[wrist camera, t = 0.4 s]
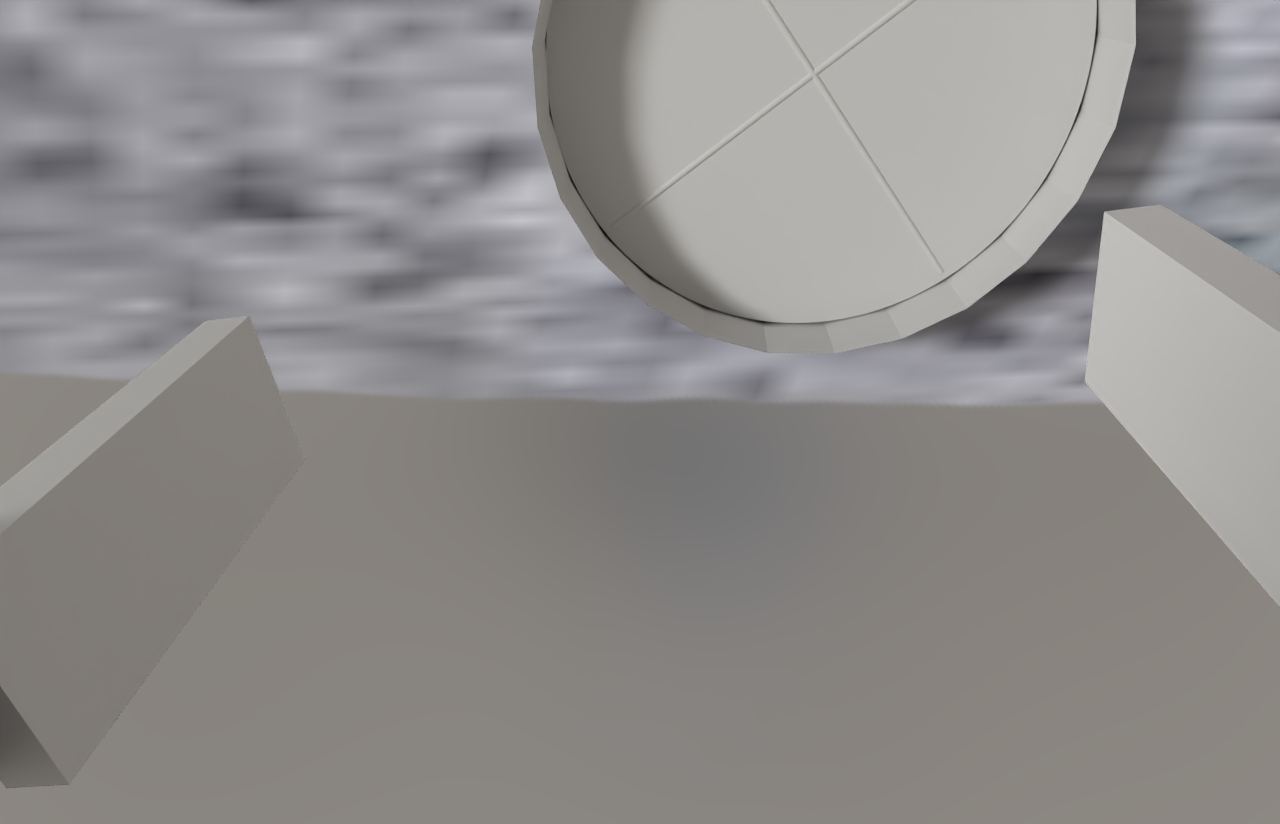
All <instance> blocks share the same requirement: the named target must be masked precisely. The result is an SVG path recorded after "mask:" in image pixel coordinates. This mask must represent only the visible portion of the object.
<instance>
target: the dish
mask: <svg viewBox="0 0 1280 824" xmlns="http://www.w3.org/2000/svg"><path fill="white" fill-rule="evenodd" d="M1135 47H1136V0H541V2H540V8H539V13H538V19H537V24H536V29H535V35H534V40H533V46H532V52H533V66H534V81H535V96H536V111H537V126H538V130H539V133H540V136H541V139H542V142H543V146H544V149H545V152H546V155H547V158H548V161H549V164H550V167H551V170H552V174H553V177H554V180H555V183H556V186H557V189H558V192H559V195H560V198H561V200H562V202H563V203H564V205H565V207H566V208H567V210H568V211H569V213H570V215H571V216H572V218H573V219H574V221H575V223H576V224H577V226H578V227H579V229H580V231H581V232H582V234H583V235H584V237H585V239H586V240H587V242H588V243H589V245H590V247H591V248H592V250H593V251H594V253H595V255H596V256H597V258H598V259H599V260H600V261H601V262H602V263H603V264H604V265H606V266H607V267H608V268H609V269H610V270H611V271H612V272H613V273H614V274H615V275H616V276H617V277H618V278H619V279H620V280H622V281H623V282H624V283H625V284H626V285H627V286H628V287H629V288H630V289H631V290H632V291H633V292H634V293H635V294H636V295H638V296H639V297H640V298H641V299H642V300H643V301H644V302H645V303H646V304H647V305H649V306H651V307H653V308H654V309H656V310H658V311H660V312H662V313H664V314H665V315H667V316H669V317H671V318H673V319H674V320H676V321H678V322H680V323H682V324H683V325H685V326H687V327H689V328H691V329H693V330H694V331H696V332H698V333H700V334H702V335H703V336H706V337H710V338H713V339H717V340H721V341H725V342H729V343H732V344H736V345H740V346H744V347H747V348H751V349H755V350H759V351H763V352H766V353H817V354H836V353H840V352H845V351H849V350H854V349H858V348H863V347H867V346H872V345H876V344H881V343H886V342H890V341H895V340H899V339H903V338H905V337H907V336H909V335H911V334H914V333H916V332H918V331H920V330H922V329H924V328H926V327H928V326H931V325H933V324H935V323H937V322H939V321H941V320H943V319H946V318H948V317H950V316H952V315H954V314H956V313H958V312H961V311H963V310H965V309H967V308H968V307H970V306H971V305H972V304H974V303H975V302H976V301H977V300H979V299H980V298H981V297H983V296H984V295H985V294H986V293H988V292H989V291H990V290H992V289H993V288H994V287H995V286H997V285H998V284H999V283H1001V282H1002V281H1003V280H1004V279H1006V278H1007V277H1008V276H1010V275H1011V274H1012V273H1013V272H1015V271H1016V270H1017V269H1019V268H1020V267H1021V266H1022V265H1024V264H1025V263H1026V262H1027V261H1028V260H1029V259H1030V258H1031V256H1032V255H1033V254H1034V253H1035V252H1036V250H1037V249H1038V248H1039V247H1040V246H1041V244H1042V243H1043V242H1044V241H1045V240H1046V238H1047V237H1048V236H1049V235H1050V234H1051V233H1052V231H1053V230H1054V229H1055V228H1056V227H1057V225H1058V224H1059V223H1060V222H1061V221H1062V219H1063V218H1064V217H1065V216H1066V215H1067V213H1068V212H1069V211H1070V210H1071V209H1072V207H1073V206H1074V205H1075V204H1076V203H1077V201H1078V200H1079V198H1080V196H1081V194H1082V192H1083V190H1084V188H1085V186H1086V184H1087V182H1088V180H1089V178H1090V176H1091V174H1092V173H1093V171H1094V169H1095V167H1096V165H1097V163H1098V161H1099V159H1100V157H1101V155H1102V153H1103V151H1104V149H1105V147H1106V146H1107V144H1108V142H1109V140H1110V138H1111V136H1112V134H1113V132H1114V130H1115V128H1116V124H1117V120H1118V116H1119V112H1120V108H1121V104H1122V100H1123V96H1124V92H1125V88H1126V84H1127V80H1128V75H1129V71H1130V67H1131V63H1132V59H1133V55H1134V51H1135Z"/></svg>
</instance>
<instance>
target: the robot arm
mask: <svg viewBox="0 0 1280 824" xmlns="http://www.w3.org/2000/svg"><path fill="white" fill-rule="evenodd" d="M1085 382H1086V383H1087V384H1088V386H1089V387H1090V388H1091V389H1092V390H1093V391H1094V393H1095V394H1096V395H1097V396H1098V397H1099V398H1100V399H1101V401H1102V402H1103V403H1104V404H1105V405H1106V406H1107V408H1108V409H1109V410H1110V411H1111V412H1112V413H1113V415H1114V416H1115V417H1116V418H1117V419H1118V420H1119V421H1120V423H1121V424H1122V425H1123V426H1124V427H1125V428H1126V430H1127V431H1128V432H1129V433H1130V434H1131V435H1132V436H1133V438H1134V439H1135V440H1136V441H1137V442H1138V443H1139V445H1140V446H1141V447H1142V448H1143V449H1144V450H1145V452H1146V453H1147V454H1148V455H1149V456H1150V457H1151V458H1152V460H1153V461H1154V462H1155V463H1156V464H1157V465H1158V467H1159V468H1160V469H1161V470H1162V471H1163V472H1164V474H1165V475H1166V476H1167V477H1168V478H1169V479H1170V480H1171V482H1172V483H1173V484H1174V485H1175V486H1176V487H1177V489H1178V490H1179V491H1180V492H1181V493H1182V494H1183V495H1184V496H1185V498H1186V499H1187V500H1188V501H1189V502H1190V504H1191V505H1192V506H1193V507H1194V508H1195V509H1196V510H1197V512H1198V513H1199V514H1200V515H1201V516H1202V517H1203V518H1204V520H1205V521H1206V522H1207V523H1208V524H1209V526H1210V527H1211V528H1212V529H1213V530H1214V531H1215V532H1216V534H1217V535H1218V536H1219V537H1220V538H1221V539H1222V541H1223V542H1224V543H1225V544H1226V545H1227V546H1228V547H1229V549H1230V550H1231V551H1232V552H1233V553H1234V554H1235V556H1236V557H1237V558H1238V559H1239V560H1240V561H1241V562H1242V564H1243V565H1244V566H1245V567H1246V568H1247V569H1248V570H1249V572H1250V573H1251V574H1252V575H1253V576H1254V578H1255V579H1256V580H1257V581H1258V582H1259V583H1260V585H1261V586H1262V587H1263V588H1264V589H1265V590H1266V591H1267V593H1268V594H1269V595H1270V596H1271V597H1272V598H1273V599H1274V601H1275V602H1276V603H1277V604H1278V605H1279V606H1280V275H1279V274H1277V273H1275V272H1274V271H1272V270H1270V269H1268V268H1267V267H1265V266H1263V265H1262V264H1260V263H1258V262H1257V261H1255V260H1253V259H1252V258H1250V257H1248V256H1247V255H1245V254H1243V253H1241V252H1240V251H1238V250H1236V249H1235V248H1233V247H1231V246H1230V245H1228V244H1226V243H1225V242H1223V241H1221V240H1219V239H1218V238H1216V237H1214V236H1213V235H1211V234H1209V233H1208V232H1206V231H1204V230H1203V229H1201V228H1199V227H1198V226H1196V225H1194V224H1192V223H1191V222H1189V221H1187V220H1186V219H1184V218H1182V217H1181V216H1179V215H1177V214H1176V213H1174V212H1172V211H1170V210H1169V209H1167V208H1165V207H1164V206H1162V205H1154V206H1145V207H1137V208H1129V209H1121V210H1113V211H1105V212H1104V217H1103V226H1102V235H1101V243H1100V252H1099V261H1098V269H1097V278H1096V287H1095V296H1094V304H1093V313H1092V322H1091V330H1090V339H1089V348H1088V357H1087V365H1086V374H1085ZM304 461H305V457H304V454H303V451H302V449H301V446H300V444H299V441H298V439H297V437H296V434H295V431H294V428H293V426H292V424H291V421H290V418H289V416H288V413H287V411H286V408H285V406H284V403H283V401H282V398H281V395H280V393H279V390H278V388H277V385H276V383H275V380H274V378H273V375H272V372H271V370H270V367H269V365H268V362H267V360H266V357H265V355H264V352H263V350H262V347H261V345H260V342H259V339H258V337H257V334H256V332H255V329H254V327H253V324H252V322H251V319H250V317H249V316H244V317H236V318H228V319H219V320H211V321H205V322H204V323H202V324H201V325H200V326H199V327H197V328H196V329H195V330H194V331H192V332H191V333H190V334H189V335H187V336H186V337H185V338H184V339H183V340H181V341H180V342H179V343H178V344H176V345H175V346H174V347H173V348H171V349H170V350H169V351H168V352H166V353H165V354H164V355H163V356H162V357H160V358H159V359H158V360H157V361H155V362H154V363H153V364H152V365H150V366H149V367H148V368H147V369H145V370H144V371H143V372H142V373H140V374H139V375H138V376H137V377H136V378H134V379H133V380H132V381H131V382H129V383H128V384H127V385H126V386H125V387H123V388H122V389H121V390H119V391H118V392H117V393H116V394H115V395H113V396H112V397H111V398H110V399H108V400H107V401H106V402H105V403H103V404H102V405H101V406H100V407H98V408H97V409H96V410H95V411H93V412H92V413H91V414H90V415H89V416H87V417H86V418H85V419H84V420H82V421H81V422H80V423H79V424H77V425H76V426H75V427H74V428H72V429H71V430H70V431H69V432H67V433H66V434H65V435H64V436H63V437H61V438H60V439H59V440H58V441H56V442H55V443H54V444H53V445H52V446H50V447H49V448H48V449H46V450H45V451H44V452H43V453H42V454H40V455H39V456H38V457H37V458H35V459H34V460H33V461H32V462H30V463H29V464H28V465H27V466H25V467H24V468H23V469H22V470H21V471H19V472H18V473H17V474H16V475H14V476H13V477H12V478H11V479H9V480H8V481H7V482H6V483H5V484H3V485H2V486H1V487H0V781H1V782H2V783H3V784H4V785H5V787H6V788H17V787H35V786H54V785H69V784H70V783H71V782H72V780H73V779H74V778H75V776H76V775H77V773H78V772H79V771H80V769H81V768H82V767H83V765H84V764H85V762H86V761H87V760H88V758H89V757H90V755H91V754H92V753H93V751H94V750H95V749H96V747H97V746H98V745H99V743H100V742H101V740H102V739H103V738H104V736H105V735H106V733H107V732H108V731H109V729H110V728H111V727H112V725H113V724H114V723H115V721H116V720H117V718H118V717H119V716H120V714H121V713H122V711H123V710H124V709H125V707H126V706H127V705H128V703H129V702H130V700H131V699H132V698H133V696H134V695H135V694H136V692H137V691H138V689H139V688H140V687H141V685H142V684H143V683H144V681H145V680H146V678H147V677H148V676H149V674H150V673H151V672H152V670H153V669H154V667H155V666H156V665H157V663H158V662H159V661H160V659H161V658H162V656H163V655H164V654H165V652H166V651H167V650H168V648H169V647H170V645H171V644H172V642H173V641H174V640H175V639H176V637H177V636H178V634H179V633H180V632H181V630H182V629H183V627H184V626H185V625H186V623H187V622H188V621H189V619H190V618H191V616H192V615H193V614H194V612H195V611H196V610H197V608H198V607H199V605H200V604H201V602H202V601H203V600H204V599H205V597H206V596H207V595H208V593H209V592H210V590H211V589H212V588H213V586H214V585H215V583H216V582H217V581H218V579H219V578H220V577H221V575H222V574H223V572H224V571H225V570H226V568H227V567H228V566H229V564H230V563H231V561H232V560H233V559H234V557H235V556H236V555H237V553H238V552H239V551H240V549H241V548H242V546H243V545H244V544H245V542H246V541H247V539H248V538H249V537H250V535H251V534H252V533H253V531H254V530H255V528H256V527H257V526H258V524H259V523H260V522H261V520H262V519H263V517H264V516H265V515H266V513H267V512H268V511H269V509H270V508H271V506H272V505H273V504H274V502H275V501H276V499H277V498H278V497H279V495H280V494H281V493H282V491H283V490H284V488H285V487H286V485H287V484H288V483H289V482H290V480H291V479H292V478H293V476H294V475H295V473H296V472H297V471H298V469H299V468H300V466H301V465H302V464H303V462H304Z"/></svg>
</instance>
